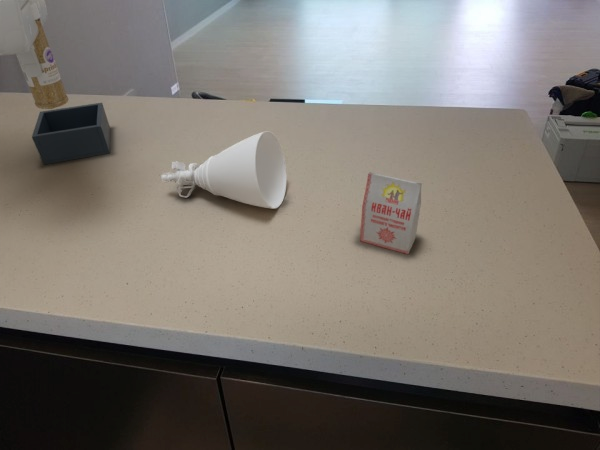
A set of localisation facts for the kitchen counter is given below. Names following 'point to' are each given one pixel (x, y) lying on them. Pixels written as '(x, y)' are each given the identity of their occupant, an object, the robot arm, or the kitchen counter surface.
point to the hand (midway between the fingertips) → (39, 68)
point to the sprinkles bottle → (45, 72)
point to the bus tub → (72, 133)
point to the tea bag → (390, 212)
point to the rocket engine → (239, 172)
